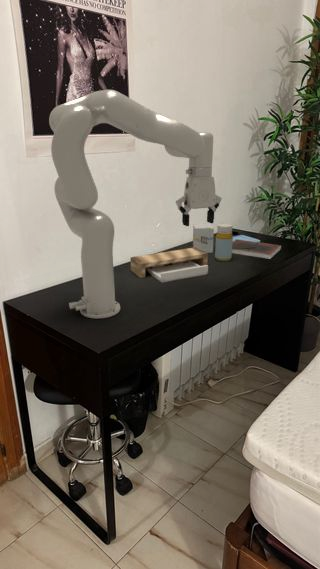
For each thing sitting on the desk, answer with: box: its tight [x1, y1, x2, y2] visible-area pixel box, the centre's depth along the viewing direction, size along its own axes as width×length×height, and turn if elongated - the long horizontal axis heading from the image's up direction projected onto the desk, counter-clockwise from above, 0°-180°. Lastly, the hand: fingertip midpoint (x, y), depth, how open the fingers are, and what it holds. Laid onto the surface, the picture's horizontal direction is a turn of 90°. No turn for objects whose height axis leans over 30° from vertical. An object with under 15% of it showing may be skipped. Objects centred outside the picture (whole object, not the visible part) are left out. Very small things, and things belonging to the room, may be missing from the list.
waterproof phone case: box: [232, 234, 261, 243], centre depth 205 cm, size 14×12×1 cm
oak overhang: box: [130, 247, 209, 279], centre depth 166 cm, size 30×10×6 cm, turn 116°
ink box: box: [192, 222, 215, 254], centre depth 187 cm, size 9×9×12 cm
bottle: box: [214, 222, 234, 262], centre depth 175 cm, size 7×7×15 cm
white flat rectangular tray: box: [145, 260, 209, 284], centre depth 161 cm, size 20×14×4 cm
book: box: [232, 239, 282, 260], centre depth 189 cm, size 16×2×22 cm
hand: (198, 224), depth 141 cm, fingers open, 9 cm apart
